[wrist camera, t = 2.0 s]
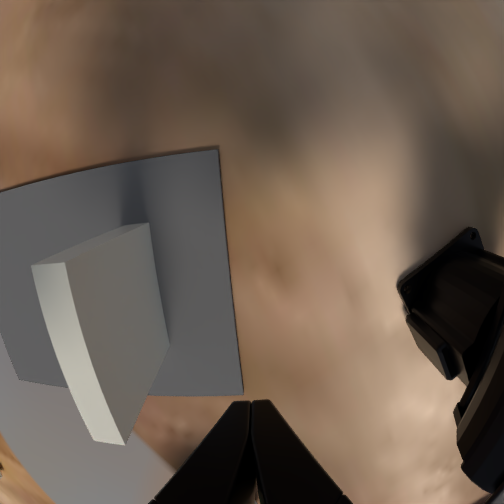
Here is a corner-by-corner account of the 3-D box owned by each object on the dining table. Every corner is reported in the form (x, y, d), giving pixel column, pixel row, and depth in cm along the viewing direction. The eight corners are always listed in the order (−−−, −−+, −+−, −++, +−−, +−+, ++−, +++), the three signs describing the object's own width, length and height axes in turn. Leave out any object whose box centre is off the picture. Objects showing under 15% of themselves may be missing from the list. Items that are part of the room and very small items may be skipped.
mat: (218, 150, 15) (217, 149, 15) (243, 391, 18) (243, 394, 18) (-25, 201, 15) (-29, 201, 15) (21, 377, 18) (18, 379, 18)
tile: (149, 222, 15) (64, 262, 8) (170, 345, 17) (125, 445, 9) (119, 225, 15) (24, 265, 8) (142, 345, 17) (87, 439, 9)
